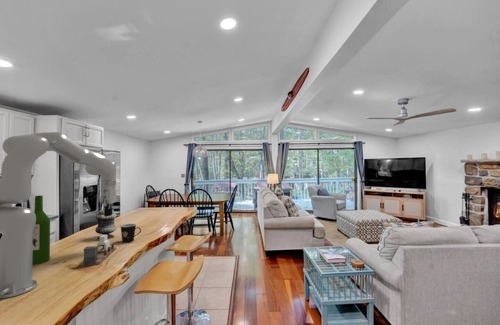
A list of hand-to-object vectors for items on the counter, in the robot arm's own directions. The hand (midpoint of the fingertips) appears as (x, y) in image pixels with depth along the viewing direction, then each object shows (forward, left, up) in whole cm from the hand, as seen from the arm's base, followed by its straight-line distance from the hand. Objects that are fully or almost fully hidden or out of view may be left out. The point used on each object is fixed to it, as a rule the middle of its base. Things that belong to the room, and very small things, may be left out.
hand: (108, 215), depth 140 cm
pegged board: (-11, 0, -19) cm, 22 cm away
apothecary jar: (+25, +10, -19) cm, 33 cm away
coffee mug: (+13, -8, -19) cm, 24 cm away
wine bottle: (-13, +27, -19) cm, 36 cm away
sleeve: (-7, 0, -17) cm, 18 cm away
